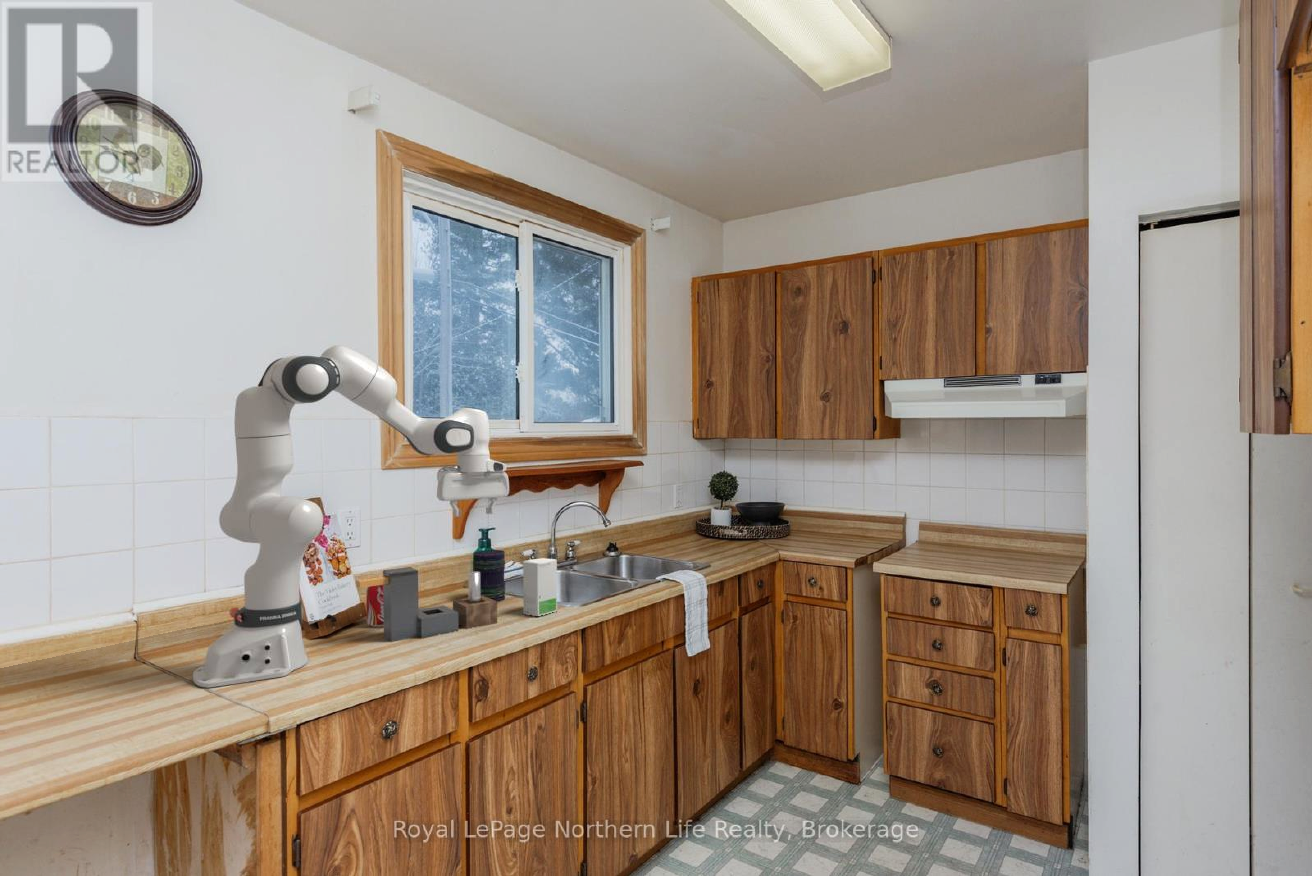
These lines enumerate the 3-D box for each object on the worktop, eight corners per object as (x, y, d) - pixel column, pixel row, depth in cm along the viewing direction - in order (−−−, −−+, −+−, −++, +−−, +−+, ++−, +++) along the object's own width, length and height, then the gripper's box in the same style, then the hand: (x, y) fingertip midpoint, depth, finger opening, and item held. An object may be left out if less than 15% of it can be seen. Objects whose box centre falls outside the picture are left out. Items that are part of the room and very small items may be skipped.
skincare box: (537, 617, 200) (537, 563, 200) (521, 614, 204) (521, 561, 204) (558, 611, 207) (558, 559, 206) (542, 608, 211) (542, 556, 210)
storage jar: (509, 596, 226) (509, 550, 226) (499, 603, 217) (499, 555, 216) (479, 595, 227) (479, 549, 227) (468, 603, 218) (468, 555, 217)
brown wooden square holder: (466, 628, 189) (466, 606, 189) (453, 622, 196) (452, 600, 196) (497, 622, 195) (496, 601, 195) (482, 616, 202) (482, 595, 202)
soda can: (371, 630, 189) (371, 585, 189) (363, 624, 194) (362, 581, 194) (397, 625, 193) (397, 581, 193) (389, 619, 199) (388, 577, 199)
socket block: (394, 643, 177) (393, 575, 176) (381, 634, 184) (380, 569, 184) (458, 631, 187) (457, 566, 187) (443, 623, 195) (443, 561, 195)
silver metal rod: (467, 622, 196) (466, 572, 195) (477, 620, 198) (477, 570, 198) (471, 624, 193) (471, 574, 193) (482, 622, 195) (482, 572, 195)
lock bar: (359, 587, 175) (359, 581, 175) (357, 586, 177) (356, 580, 177) (415, 580, 184) (415, 574, 184) (412, 578, 186) (412, 572, 186)
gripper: (442, 467, 186) (442, 519, 186) (511, 464, 199) (512, 513, 199) (432, 466, 191) (433, 517, 191) (501, 464, 204) (501, 511, 204)
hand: (474, 515), depth 195 cm, fingers open, 8 cm apart
